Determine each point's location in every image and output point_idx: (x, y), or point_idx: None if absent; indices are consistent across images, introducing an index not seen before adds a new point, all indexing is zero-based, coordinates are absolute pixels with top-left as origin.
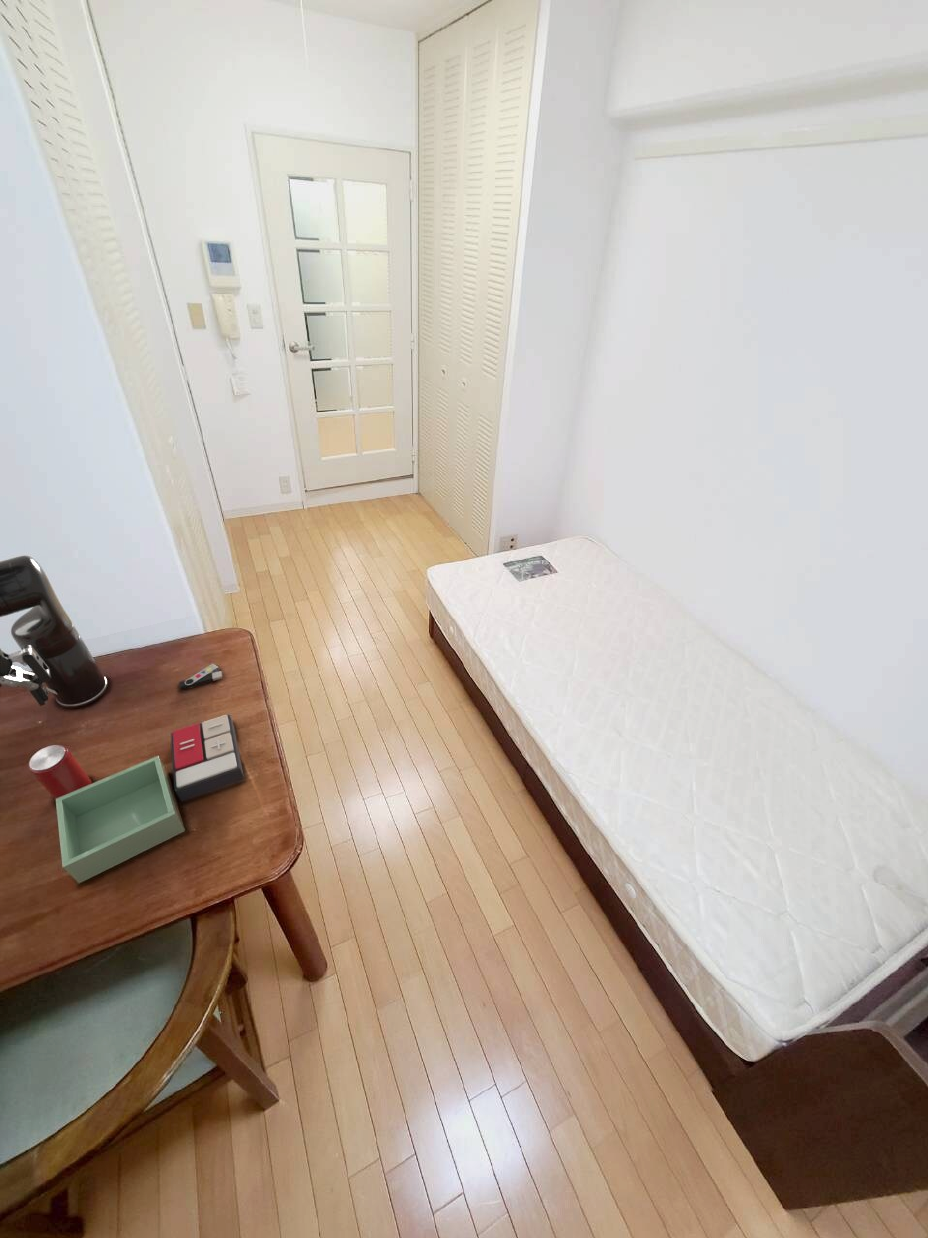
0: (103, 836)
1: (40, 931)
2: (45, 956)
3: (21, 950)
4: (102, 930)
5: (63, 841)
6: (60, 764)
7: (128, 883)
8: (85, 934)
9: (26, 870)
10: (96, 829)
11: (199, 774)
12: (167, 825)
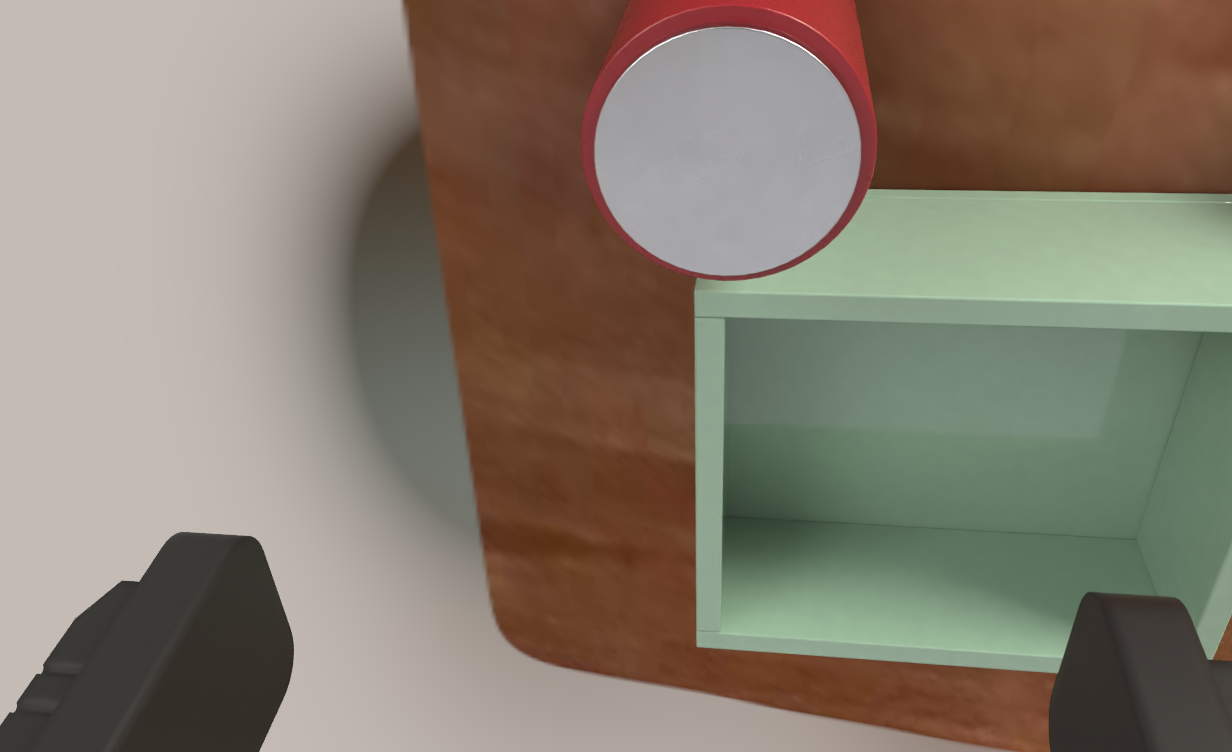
0: (833, 395)
1: (573, 587)
2: (589, 655)
3: (520, 606)
4: (754, 679)
5: (711, 549)
6: (801, 261)
7: None
8: (704, 663)
9: (511, 350)
10: (813, 346)
11: None
12: None
